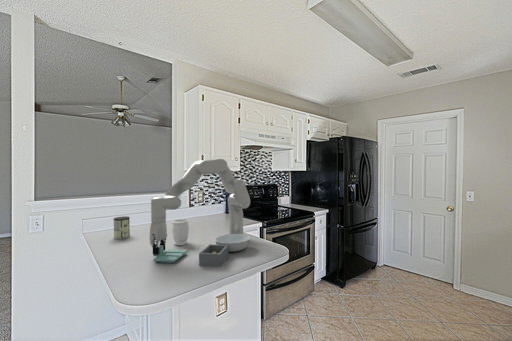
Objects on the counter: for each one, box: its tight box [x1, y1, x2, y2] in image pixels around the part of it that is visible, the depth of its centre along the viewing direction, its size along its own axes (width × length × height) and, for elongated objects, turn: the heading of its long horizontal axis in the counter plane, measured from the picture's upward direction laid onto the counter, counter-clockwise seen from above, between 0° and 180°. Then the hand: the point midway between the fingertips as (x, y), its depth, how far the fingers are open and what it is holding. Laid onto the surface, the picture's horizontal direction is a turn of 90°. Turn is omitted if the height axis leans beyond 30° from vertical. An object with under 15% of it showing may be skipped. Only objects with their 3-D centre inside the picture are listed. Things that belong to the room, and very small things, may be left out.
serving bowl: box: [214, 233, 251, 253], centre depth 148 cm, size 21×21×7 cm
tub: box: [198, 243, 229, 267], centre depth 130 cm, size 15×11×6 cm
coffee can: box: [113, 215, 131, 240], centre depth 179 cm, size 10×10×14 cm
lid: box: [152, 244, 189, 264], centre depth 134 cm, size 16×16×7 cm
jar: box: [171, 219, 190, 246], centre depth 160 cm, size 11×10×15 cm
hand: (159, 252), depth 135 cm, fingers open, 6 cm apart
